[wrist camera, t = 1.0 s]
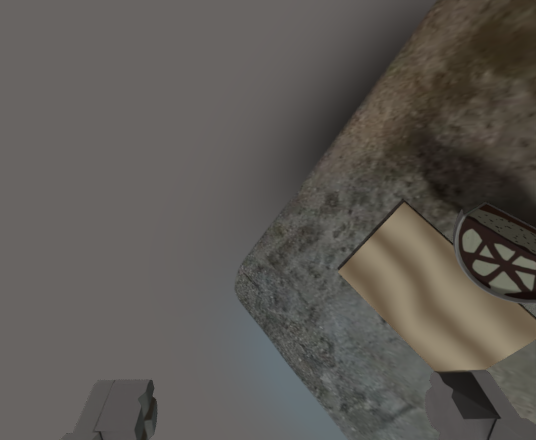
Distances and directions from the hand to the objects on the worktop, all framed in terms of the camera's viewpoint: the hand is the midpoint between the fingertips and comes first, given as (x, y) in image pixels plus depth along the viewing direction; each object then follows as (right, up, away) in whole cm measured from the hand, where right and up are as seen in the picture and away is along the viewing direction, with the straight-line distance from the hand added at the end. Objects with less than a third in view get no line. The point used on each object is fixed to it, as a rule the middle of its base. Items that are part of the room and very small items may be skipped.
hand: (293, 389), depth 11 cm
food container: (+28, +2, +35) cm, 44 cm away
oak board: (+21, -5, +41) cm, 47 cm away
